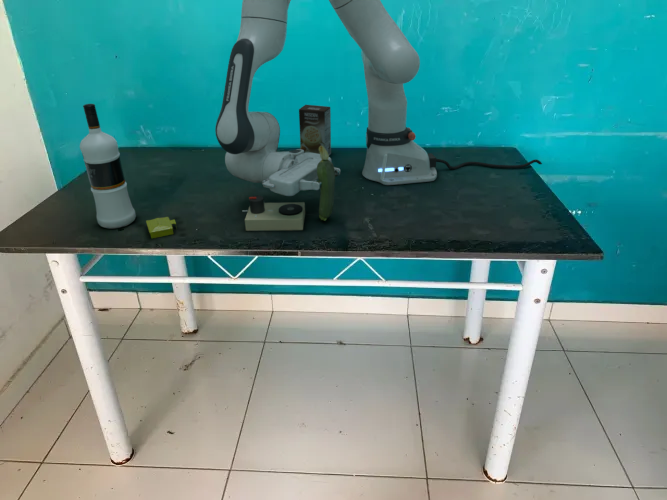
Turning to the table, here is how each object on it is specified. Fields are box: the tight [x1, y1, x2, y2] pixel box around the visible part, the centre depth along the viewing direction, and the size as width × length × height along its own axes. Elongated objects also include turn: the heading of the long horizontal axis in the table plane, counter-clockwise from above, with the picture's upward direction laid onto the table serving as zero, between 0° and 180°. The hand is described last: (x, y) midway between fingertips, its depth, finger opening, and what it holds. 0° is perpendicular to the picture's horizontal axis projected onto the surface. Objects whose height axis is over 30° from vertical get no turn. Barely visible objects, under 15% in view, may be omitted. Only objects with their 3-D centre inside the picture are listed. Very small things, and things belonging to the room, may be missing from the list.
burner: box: [279, 204, 303, 216], centre depth 131 cm, size 6×6×1 cm
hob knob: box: [248, 195, 265, 214], centre depth 130 cm, size 4×4×4 cm
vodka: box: [79, 103, 137, 230], centre depth 127 cm, size 9×9×30 cm
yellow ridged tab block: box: [144, 216, 182, 243], centre depth 129 cm, size 10×9×3 cm
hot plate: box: [241, 201, 306, 232], centre depth 132 cm, size 15×10×3 cm, turn 89°
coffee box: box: [298, 104, 332, 157], centre depth 172 cm, size 9×6×16 cm
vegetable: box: [317, 146, 336, 222], centre depth 127 cm, size 4×4×20 cm
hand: (329, 179), depth 126 cm, fingers open, 8 cm apart
